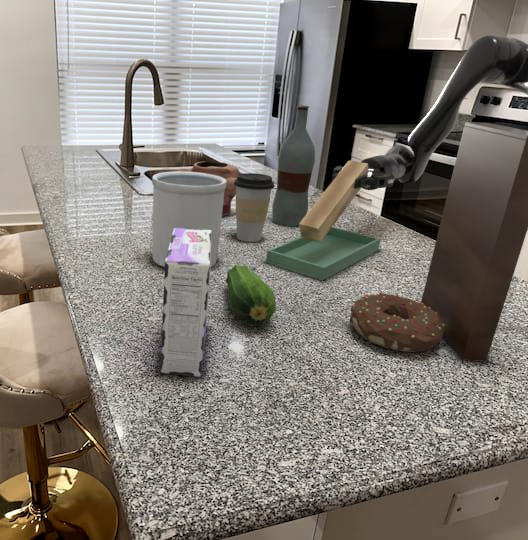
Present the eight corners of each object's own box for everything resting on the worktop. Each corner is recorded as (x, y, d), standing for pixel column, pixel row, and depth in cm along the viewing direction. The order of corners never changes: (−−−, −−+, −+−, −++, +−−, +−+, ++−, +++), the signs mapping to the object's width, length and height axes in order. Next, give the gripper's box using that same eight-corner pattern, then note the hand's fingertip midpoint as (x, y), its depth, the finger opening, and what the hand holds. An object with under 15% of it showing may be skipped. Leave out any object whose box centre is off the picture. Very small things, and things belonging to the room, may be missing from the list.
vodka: (304, 218, 142) (320, 105, 131) (307, 228, 133) (324, 108, 122) (270, 216, 143) (283, 103, 132) (270, 225, 135) (284, 106, 124)
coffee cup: (242, 246, 118) (248, 181, 113) (222, 234, 126) (226, 173, 121) (276, 242, 122) (283, 179, 116) (254, 230, 130) (260, 171, 124)
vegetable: (248, 283, 77) (233, 241, 95) (223, 320, 79) (213, 273, 98) (289, 304, 78) (266, 259, 96) (263, 341, 80) (246, 290, 99)
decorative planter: (171, 217, 138) (173, 166, 133) (170, 206, 149) (172, 157, 144) (245, 220, 139) (250, 168, 133) (238, 208, 150) (242, 160, 145)
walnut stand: (438, 312, 89) (488, 122, 77) (486, 361, 75) (557, 136, 63) (418, 311, 90) (465, 121, 78) (461, 359, 75) (527, 135, 63)
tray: (326, 236, 128) (328, 225, 126) (378, 250, 119) (380, 238, 118) (265, 262, 109) (267, 250, 108) (322, 281, 101) (324, 267, 100)
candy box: (169, 325, 81) (173, 226, 75) (206, 328, 81) (213, 228, 75) (158, 374, 68) (162, 259, 62) (202, 378, 68) (211, 262, 62)
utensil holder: (171, 243, 118) (174, 167, 112) (230, 256, 112) (238, 176, 105) (136, 262, 106) (137, 178, 100) (200, 278, 100) (206, 189, 93)
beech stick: (368, 177, 114) (368, 163, 112) (320, 242, 106) (318, 228, 103) (350, 174, 117) (349, 160, 115) (301, 237, 108) (298, 223, 106)
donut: (334, 315, 87) (339, 288, 85) (411, 315, 88) (418, 288, 86) (371, 361, 74) (377, 330, 72) (461, 360, 75) (470, 330, 73)
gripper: (351, 151, 126) (317, 159, 114) (411, 160, 117) (380, 169, 105) (346, 182, 129) (312, 192, 117) (404, 193, 120) (374, 205, 108)
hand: (345, 181), depth 111 cm, fingers closed on beech stick, 4 cm apart
